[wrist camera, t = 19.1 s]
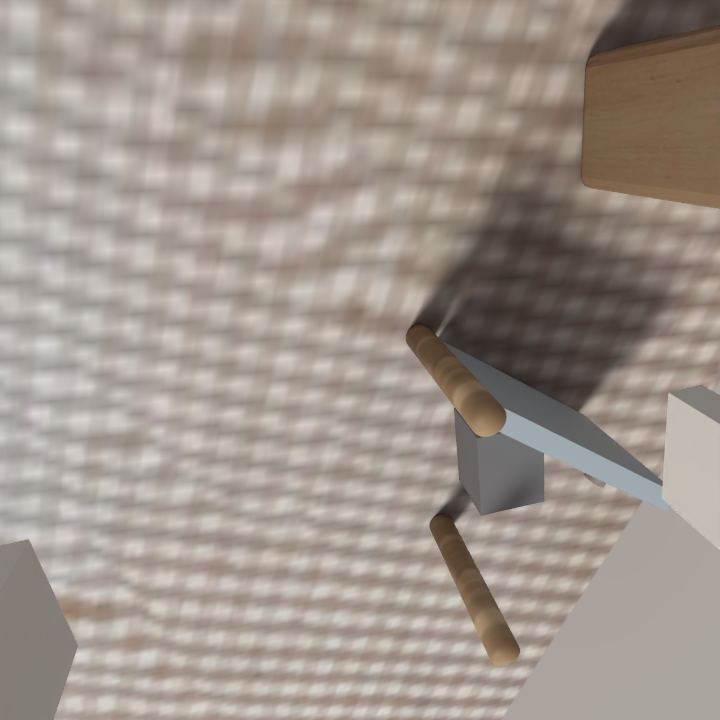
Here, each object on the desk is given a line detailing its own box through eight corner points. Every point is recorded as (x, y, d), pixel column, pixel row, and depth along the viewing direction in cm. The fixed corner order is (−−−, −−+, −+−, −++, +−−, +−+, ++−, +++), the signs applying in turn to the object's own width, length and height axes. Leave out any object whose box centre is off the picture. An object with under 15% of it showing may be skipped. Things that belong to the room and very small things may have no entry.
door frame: (404, 327, 50) (468, 406, 36) (430, 321, 51) (505, 398, 36) (430, 536, 59) (491, 669, 44) (453, 530, 59) (520, 661, 45)
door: (419, 374, 51) (474, 452, 39) (441, 340, 50) (504, 408, 38) (562, 444, 57) (649, 531, 44) (583, 414, 56) (679, 494, 43)
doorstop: (453, 407, 54) (476, 438, 49) (514, 395, 55) (543, 424, 49) (458, 478, 57) (481, 515, 52) (515, 466, 58) (544, 501, 53)
